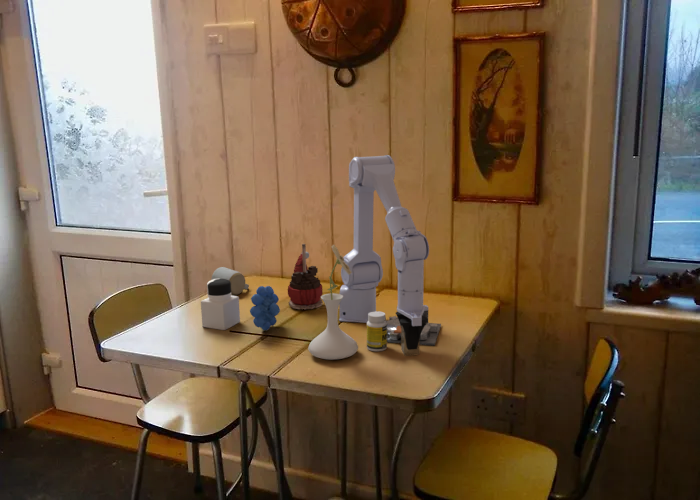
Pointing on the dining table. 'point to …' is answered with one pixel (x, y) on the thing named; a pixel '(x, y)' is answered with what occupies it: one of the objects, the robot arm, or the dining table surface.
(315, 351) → the flower in vase
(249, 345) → the dining table surface
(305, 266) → the cake
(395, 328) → the sprocket
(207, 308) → the medicine bottle
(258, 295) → the grapes
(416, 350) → the link block
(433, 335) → the base plate
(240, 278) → the ceramic mug
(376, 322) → the supplement bottle
